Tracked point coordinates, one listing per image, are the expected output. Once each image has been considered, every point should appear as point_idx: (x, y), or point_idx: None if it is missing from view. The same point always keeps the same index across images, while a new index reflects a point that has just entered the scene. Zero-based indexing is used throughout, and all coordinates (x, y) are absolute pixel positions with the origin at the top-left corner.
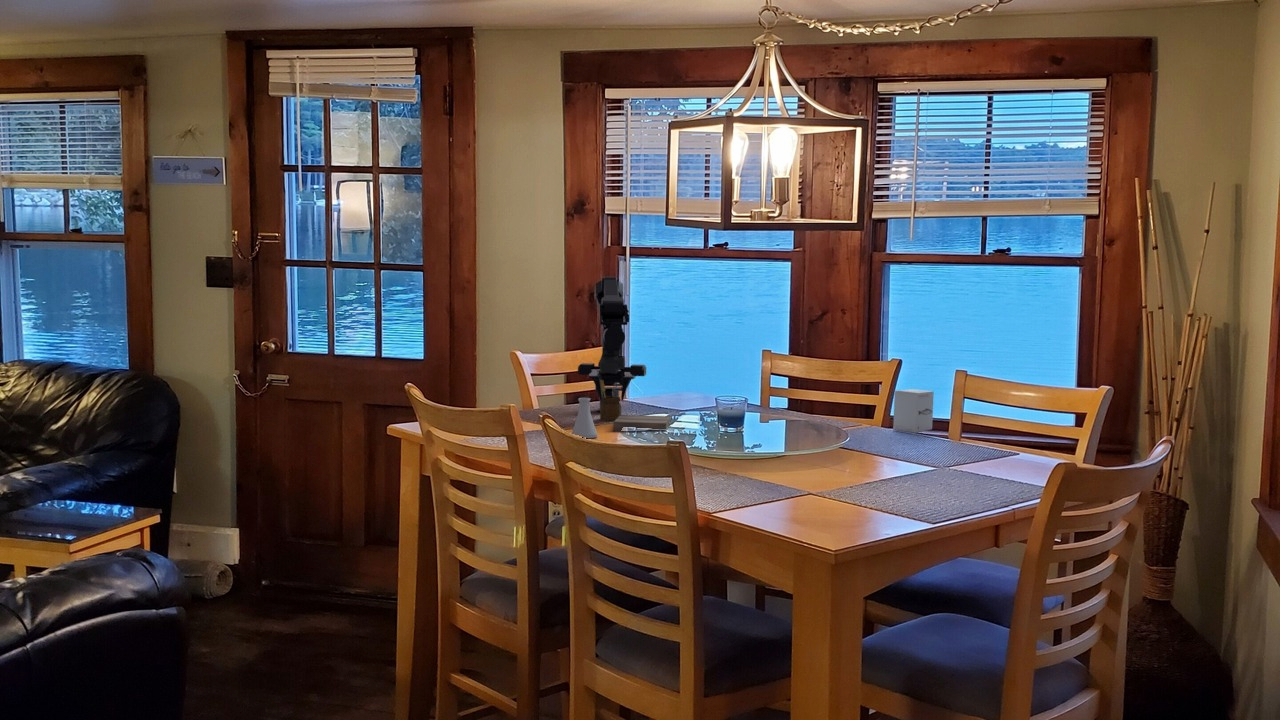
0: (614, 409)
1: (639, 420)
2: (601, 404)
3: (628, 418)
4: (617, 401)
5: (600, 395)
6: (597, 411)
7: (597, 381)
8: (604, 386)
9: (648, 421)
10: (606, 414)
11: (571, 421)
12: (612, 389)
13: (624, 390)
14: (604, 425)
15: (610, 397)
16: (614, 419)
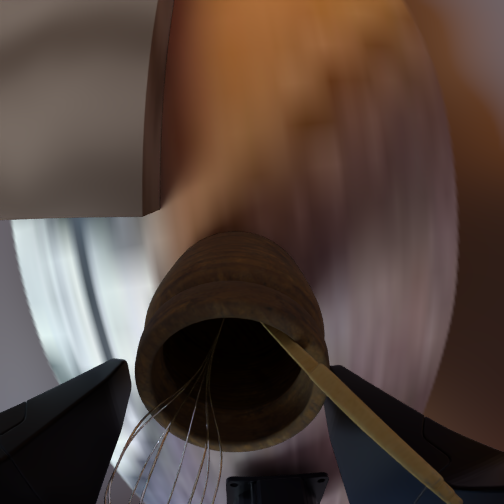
0: (189, 257)
1: (32, 12)
2: (318, 317)
3: (79, 53)
4: (152, 317)
5: (352, 383)
6: (325, 473)
7: (476, 472)
8: (341, 403)
9: (3, 6)
10: (258, 240)
11: (447, 266)
12: (218, 478)
13: (45, 401)
14: (255, 126)
15: (247, 437)
16: (199, 241)
